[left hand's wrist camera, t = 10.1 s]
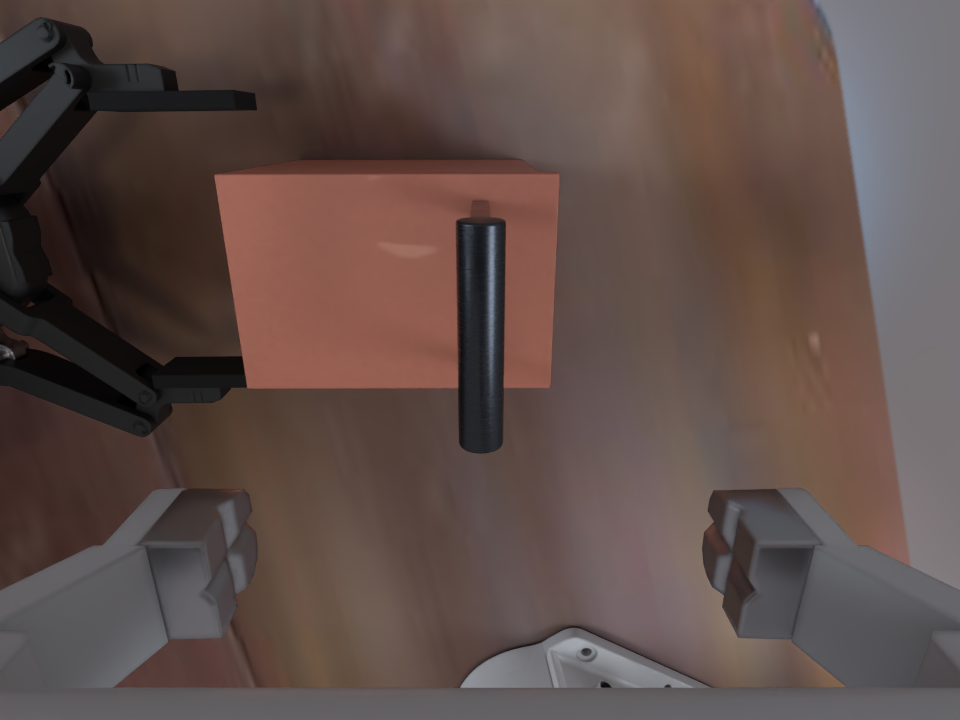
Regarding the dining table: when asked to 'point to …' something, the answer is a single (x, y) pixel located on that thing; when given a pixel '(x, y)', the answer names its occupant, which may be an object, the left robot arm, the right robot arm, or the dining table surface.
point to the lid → (396, 283)
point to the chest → (396, 166)
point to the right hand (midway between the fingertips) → (267, 246)
